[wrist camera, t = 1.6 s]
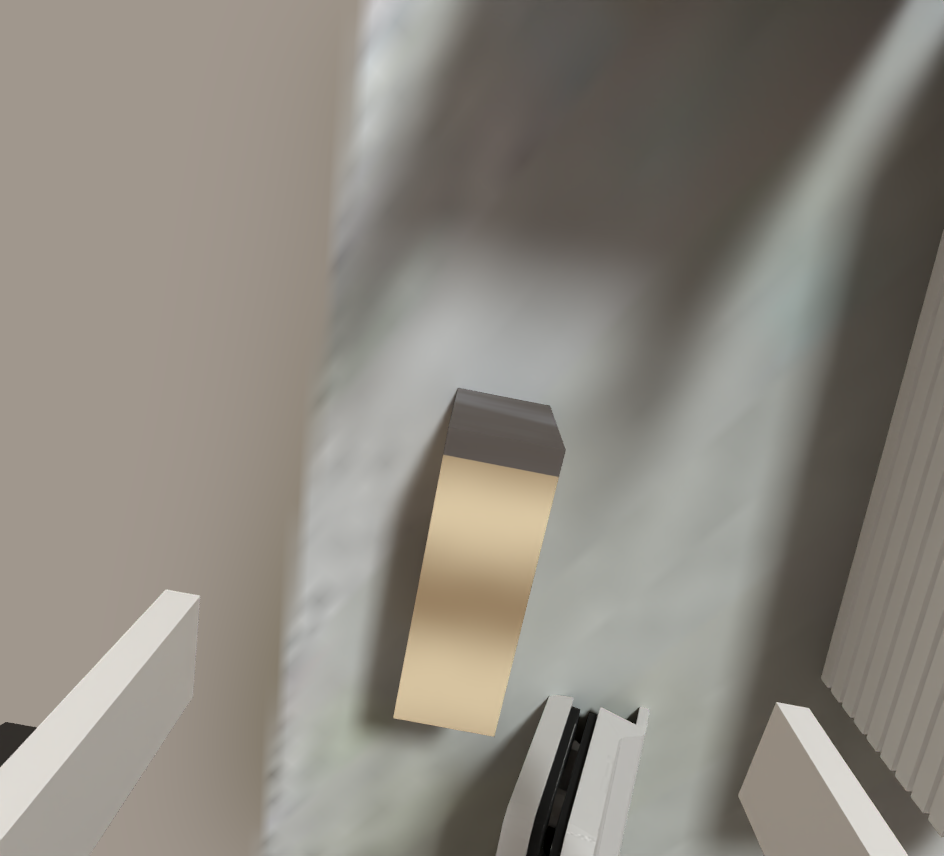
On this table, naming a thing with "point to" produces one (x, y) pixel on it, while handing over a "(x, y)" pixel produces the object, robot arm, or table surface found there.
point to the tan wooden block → (479, 560)
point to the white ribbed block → (902, 582)
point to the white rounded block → (574, 784)
